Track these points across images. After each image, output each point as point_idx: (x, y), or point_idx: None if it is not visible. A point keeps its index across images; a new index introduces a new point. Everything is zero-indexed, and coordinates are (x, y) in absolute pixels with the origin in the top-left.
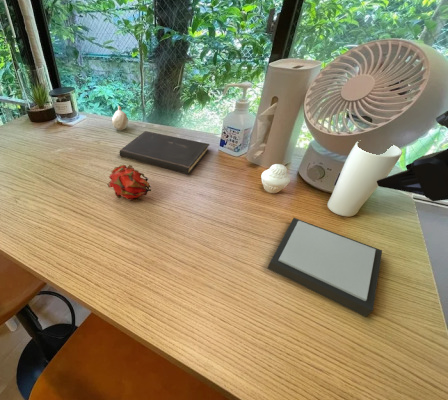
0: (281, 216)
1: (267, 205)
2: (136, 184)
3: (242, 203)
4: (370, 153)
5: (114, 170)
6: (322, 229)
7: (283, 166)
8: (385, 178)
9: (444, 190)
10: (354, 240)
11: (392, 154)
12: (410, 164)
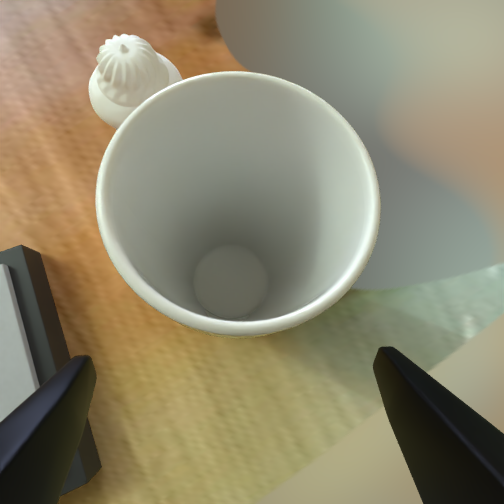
0: (54, 217)
1: (68, 165)
2: None
3: (16, 123)
4: (99, 201)
5: None
6: (19, 329)
7: (134, 57)
8: (23, 401)
9: None
10: None
11: (338, 269)
12: (391, 362)
